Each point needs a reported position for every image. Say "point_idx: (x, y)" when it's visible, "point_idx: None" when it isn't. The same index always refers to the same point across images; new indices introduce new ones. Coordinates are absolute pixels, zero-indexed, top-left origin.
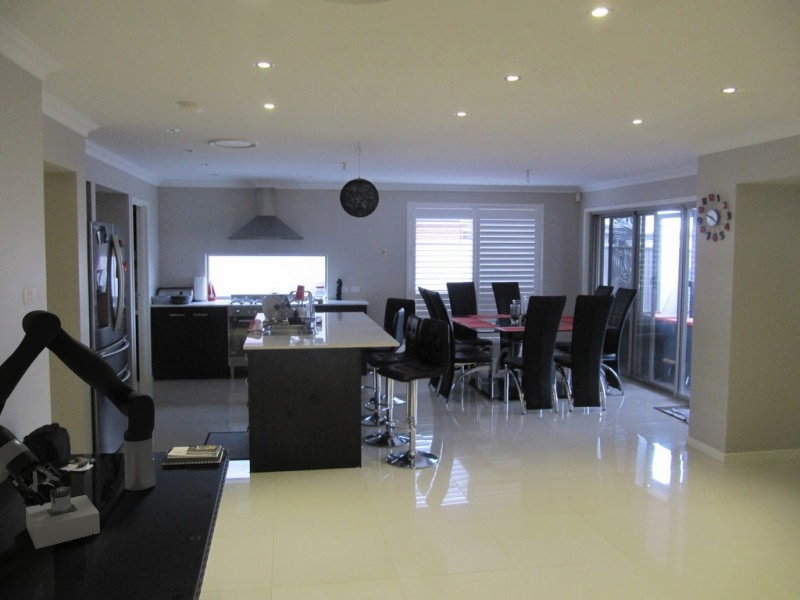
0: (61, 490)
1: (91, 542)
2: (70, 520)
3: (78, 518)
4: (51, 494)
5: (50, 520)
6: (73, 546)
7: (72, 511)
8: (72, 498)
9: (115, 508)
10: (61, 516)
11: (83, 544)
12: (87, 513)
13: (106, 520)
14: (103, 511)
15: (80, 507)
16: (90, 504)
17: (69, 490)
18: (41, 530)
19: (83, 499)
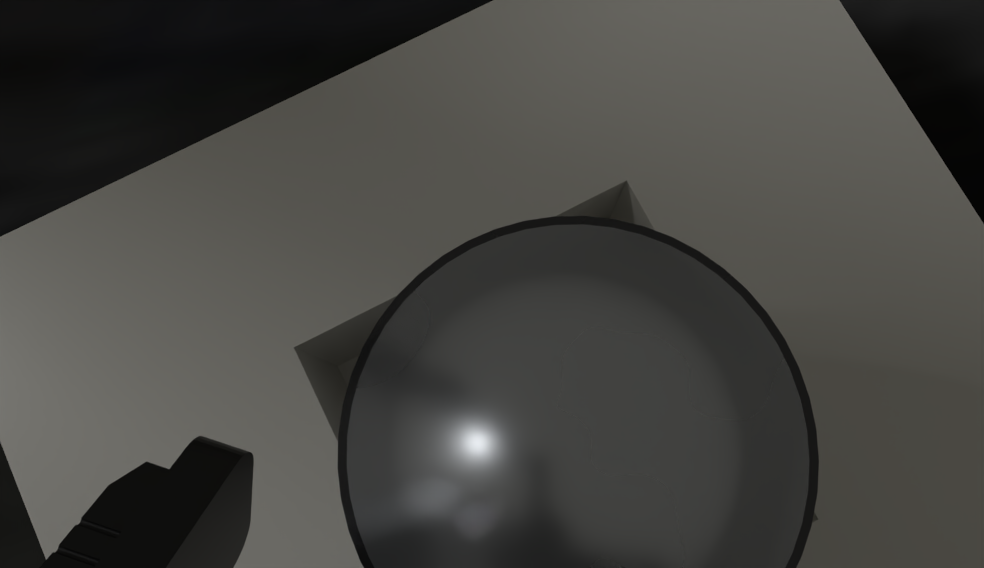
0: (632, 404)
1: (895, 45)
2: (946, 187)
3: (894, 98)
4: None
5: (965, 466)
6: (970, 189)
7: (327, 368)
8: (42, 432)
9: (6, 46)
10: (824, 350)
11: (933, 107)
12: (763, 15)
13: (341, 51)
14: (58, 150)
15: (496, 182)
16: (404, 73)
17: (608, 226)
18: None
19: (146, 240)
